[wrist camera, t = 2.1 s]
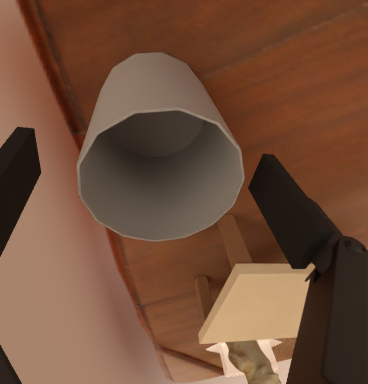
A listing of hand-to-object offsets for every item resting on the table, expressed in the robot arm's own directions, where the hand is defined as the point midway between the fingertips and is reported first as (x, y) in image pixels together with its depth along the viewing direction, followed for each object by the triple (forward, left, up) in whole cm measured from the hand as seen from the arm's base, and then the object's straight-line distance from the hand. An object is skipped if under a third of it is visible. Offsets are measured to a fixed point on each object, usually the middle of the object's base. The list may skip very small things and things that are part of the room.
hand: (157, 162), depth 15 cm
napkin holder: (+51, +27, -7) cm, 58 cm away
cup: (0, 0, -7) cm, 7 cm away
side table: (+18, +16, -7) cm, 25 cm away
